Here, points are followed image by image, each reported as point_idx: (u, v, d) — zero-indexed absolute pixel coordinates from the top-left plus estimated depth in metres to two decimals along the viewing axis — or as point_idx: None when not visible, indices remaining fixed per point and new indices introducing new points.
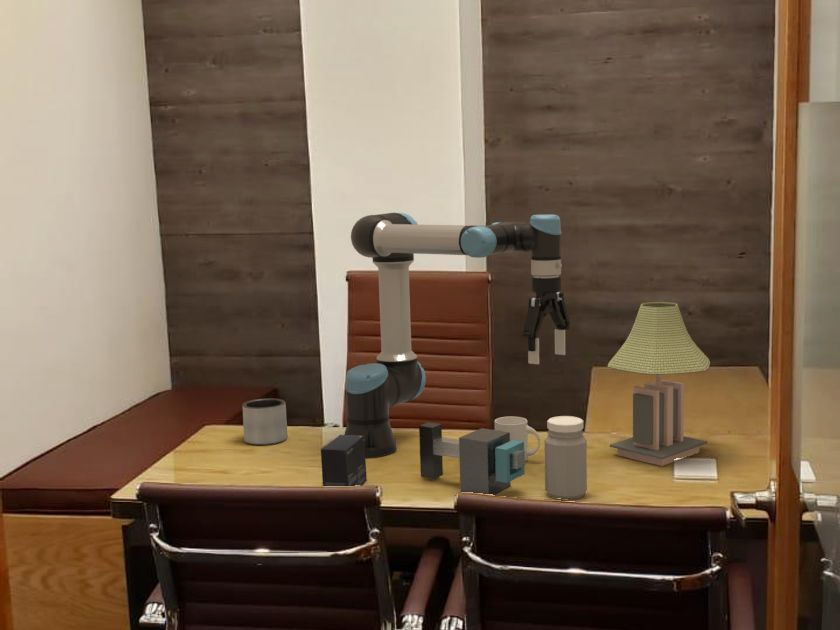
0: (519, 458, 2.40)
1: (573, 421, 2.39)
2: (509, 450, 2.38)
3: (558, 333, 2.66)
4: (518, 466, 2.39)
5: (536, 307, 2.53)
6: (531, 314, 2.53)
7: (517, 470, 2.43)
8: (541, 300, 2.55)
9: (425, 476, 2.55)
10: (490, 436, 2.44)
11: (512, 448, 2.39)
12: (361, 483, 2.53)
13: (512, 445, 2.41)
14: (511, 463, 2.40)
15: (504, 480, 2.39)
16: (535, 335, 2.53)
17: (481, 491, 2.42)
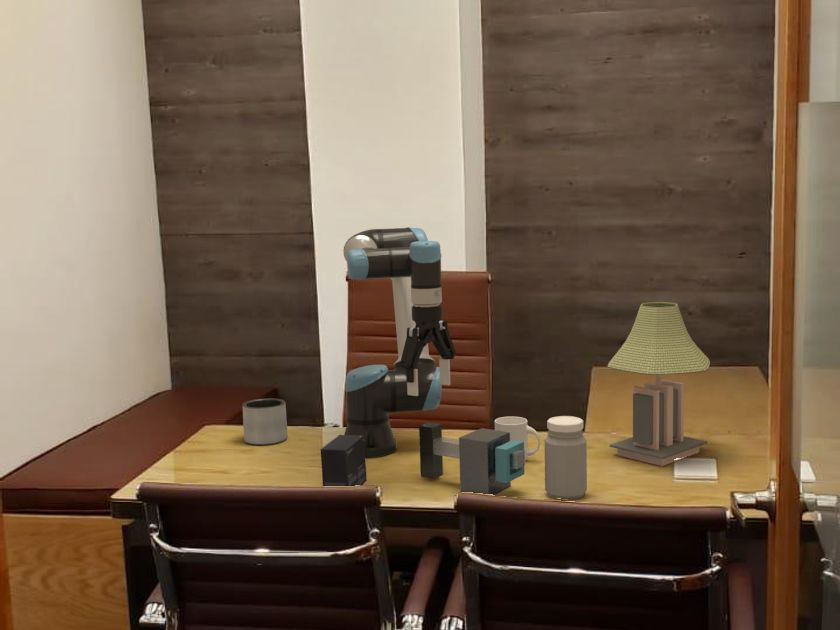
0: (519, 458, 2.40)
1: (573, 421, 2.39)
2: (509, 450, 2.38)
3: (442, 363, 2.58)
4: (518, 466, 2.39)
5: (414, 337, 2.45)
6: (409, 345, 2.45)
7: (517, 470, 2.43)
8: (420, 330, 2.47)
9: (425, 476, 2.55)
10: (490, 436, 2.44)
11: (512, 448, 2.39)
12: (361, 483, 2.53)
13: (512, 445, 2.41)
14: (511, 463, 2.40)
15: (504, 480, 2.39)
16: (413, 366, 2.45)
17: (481, 491, 2.42)
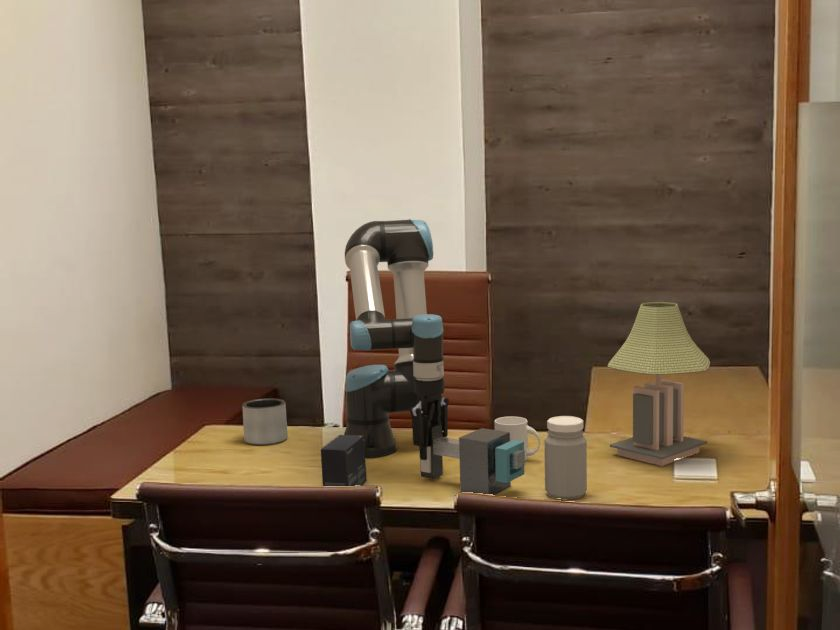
0: (519, 458, 2.40)
1: (573, 421, 2.39)
2: (509, 450, 2.38)
3: None
4: (518, 466, 2.39)
5: (419, 417, 2.49)
6: (416, 425, 2.50)
7: (517, 470, 2.43)
8: (422, 405, 2.50)
9: (425, 476, 2.55)
10: (490, 436, 2.44)
11: (512, 448, 2.39)
12: (361, 483, 2.53)
13: (512, 445, 2.41)
14: (511, 463, 2.40)
15: (504, 480, 2.39)
16: (426, 445, 2.52)
17: (481, 491, 2.42)
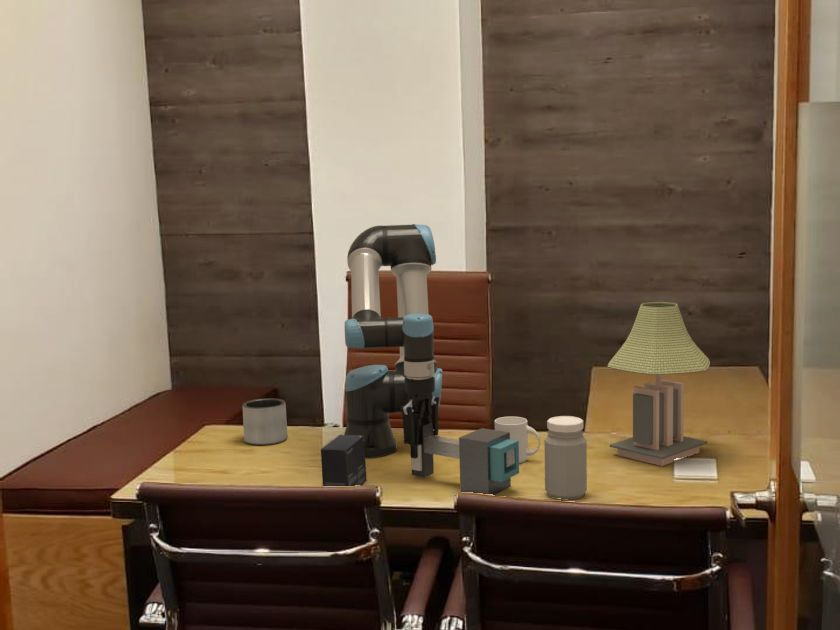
0: (509, 456, 2.41)
1: (573, 421, 2.39)
2: (504, 449, 2.39)
3: None
4: (508, 464, 2.41)
5: (410, 416, 2.50)
6: (407, 423, 2.51)
7: (512, 469, 2.44)
8: (413, 404, 2.52)
9: (416, 474, 2.57)
10: (490, 436, 2.44)
11: (506, 447, 2.40)
12: (361, 483, 2.53)
13: (507, 444, 2.41)
14: None
15: (499, 479, 2.40)
16: (417, 443, 2.53)
17: (481, 491, 2.42)
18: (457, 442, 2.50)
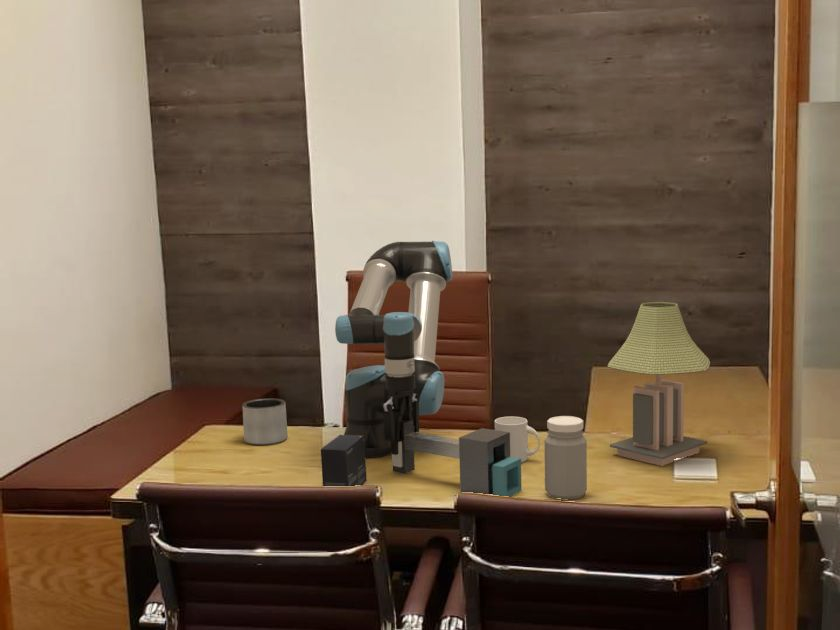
0: None
1: (573, 421, 2.39)
2: (506, 468, 2.40)
3: None
4: None
5: (390, 413, 2.54)
6: (387, 420, 2.55)
7: (514, 487, 2.44)
8: (393, 401, 2.55)
9: (397, 471, 2.60)
10: (490, 436, 2.44)
11: (509, 465, 2.41)
12: (361, 483, 2.53)
13: (509, 462, 2.42)
14: None
15: None
16: (397, 440, 2.57)
17: (481, 491, 2.42)
18: (437, 439, 2.53)
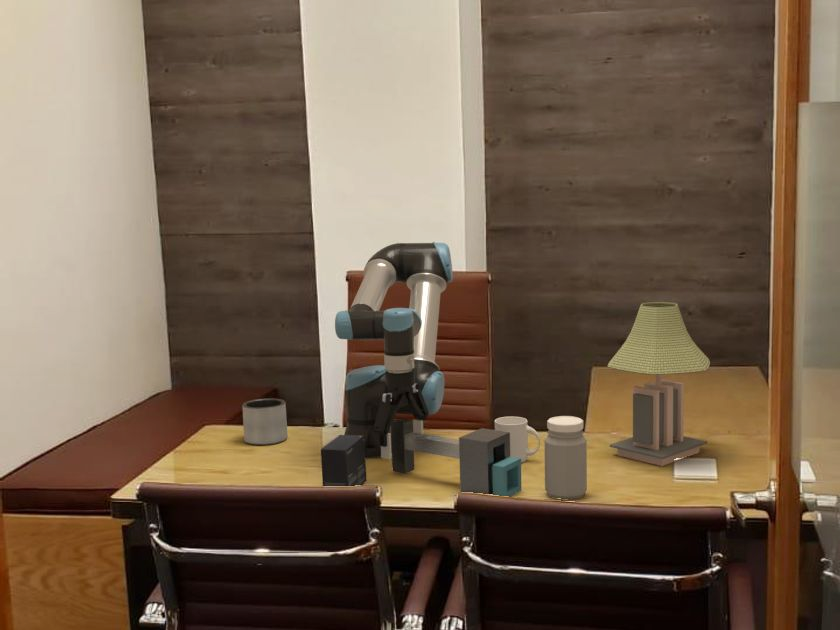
0: None
1: (573, 421, 2.39)
2: (506, 468, 2.40)
3: (416, 423, 2.66)
4: None
5: (387, 403, 2.53)
6: (382, 410, 2.53)
7: (514, 487, 2.44)
8: (393, 395, 2.55)
9: (397, 471, 2.60)
10: (490, 436, 2.44)
11: (509, 465, 2.41)
12: (361, 483, 2.53)
13: (509, 462, 2.42)
14: None
15: None
16: (386, 431, 2.53)
17: (481, 491, 2.42)
18: (437, 439, 2.53)
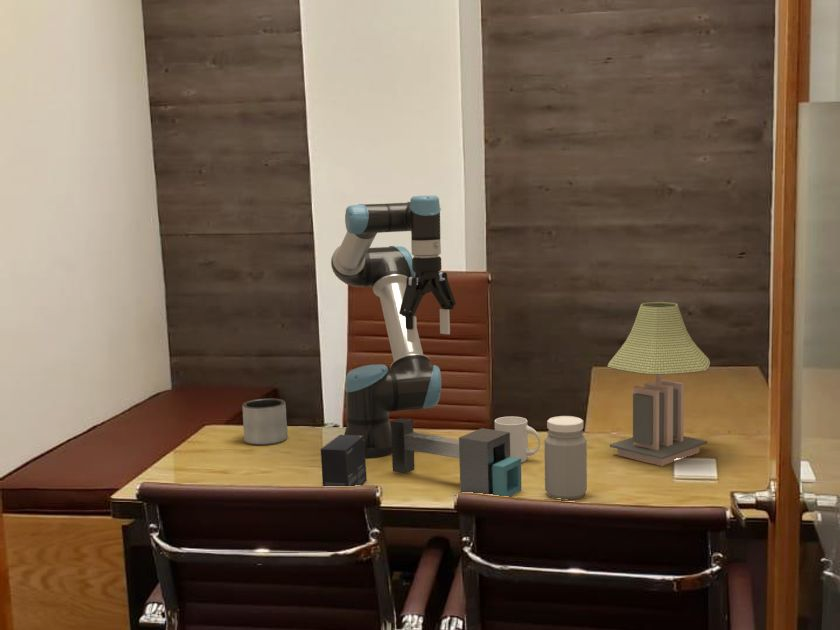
0: None
1: (573, 421, 2.39)
2: (506, 468, 2.40)
3: (443, 313, 2.70)
4: None
5: (413, 286, 2.58)
6: (408, 293, 2.58)
7: (514, 487, 2.44)
8: (419, 279, 2.60)
9: (397, 471, 2.60)
10: (490, 436, 2.44)
11: (509, 465, 2.41)
12: (361, 483, 2.53)
13: (509, 462, 2.42)
14: None
15: None
16: (412, 313, 2.58)
17: (481, 491, 2.42)
18: (437, 439, 2.53)
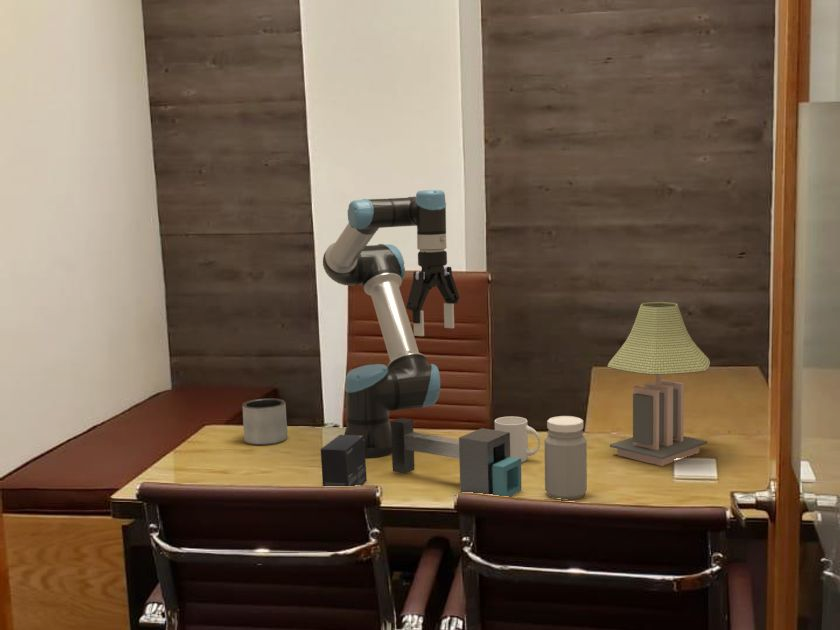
0: None
1: (573, 421, 2.39)
2: (506, 468, 2.40)
3: (447, 307, 2.72)
4: None
5: (420, 280, 2.59)
6: (415, 287, 2.59)
7: (514, 487, 2.44)
8: (426, 273, 2.61)
9: (397, 471, 2.60)
10: (490, 436, 2.44)
11: (509, 465, 2.41)
12: (361, 483, 2.53)
13: (509, 462, 2.42)
14: None
15: None
16: (419, 307, 2.59)
17: (481, 491, 2.42)
18: (437, 439, 2.53)
